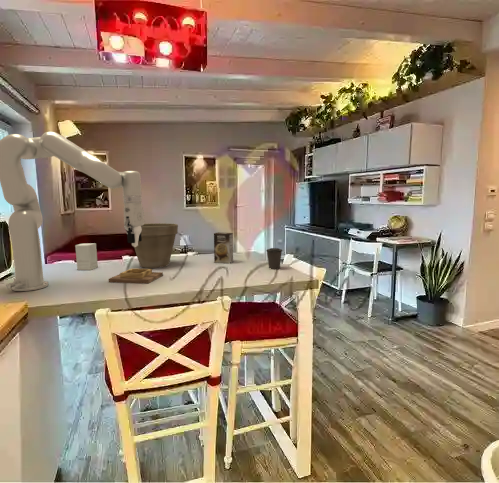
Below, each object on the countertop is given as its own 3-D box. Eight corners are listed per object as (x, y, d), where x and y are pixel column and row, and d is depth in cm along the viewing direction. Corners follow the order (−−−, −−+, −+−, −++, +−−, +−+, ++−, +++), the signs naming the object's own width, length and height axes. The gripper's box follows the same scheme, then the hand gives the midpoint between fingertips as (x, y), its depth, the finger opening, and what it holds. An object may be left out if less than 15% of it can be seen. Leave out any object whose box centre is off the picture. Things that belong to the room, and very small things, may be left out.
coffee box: (213, 262, 195) (213, 233, 192) (218, 260, 201) (217, 232, 199) (229, 263, 192) (229, 233, 190) (233, 261, 198) (233, 232, 196)
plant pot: (162, 259, 207) (161, 221, 204) (188, 264, 190) (187, 223, 187) (121, 265, 189) (119, 224, 186) (145, 272, 172) (143, 227, 169)
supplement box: (98, 267, 186) (96, 243, 185) (90, 270, 179) (88, 245, 177) (84, 267, 187) (83, 243, 185) (76, 270, 180) (74, 245, 178)
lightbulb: (137, 245, 162) (136, 221, 160) (145, 246, 158) (144, 221, 157) (124, 247, 157) (123, 222, 156) (132, 248, 153) (131, 222, 152)
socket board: (148, 283, 150) (147, 275, 150) (108, 282, 153) (108, 274, 153) (162, 275, 165) (162, 268, 165) (126, 274, 168) (126, 267, 168)
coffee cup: (285, 269, 176) (285, 248, 175) (270, 270, 173) (270, 250, 172) (278, 266, 184) (278, 246, 183) (263, 267, 181) (263, 247, 180)
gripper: (130, 200, 146) (133, 244, 148) (149, 199, 162) (151, 239, 165) (113, 200, 147) (116, 244, 149) (134, 200, 164) (136, 239, 166)
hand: (134, 241), depth 157 cm, fingers closed on lightbulb, 5 cm apart
